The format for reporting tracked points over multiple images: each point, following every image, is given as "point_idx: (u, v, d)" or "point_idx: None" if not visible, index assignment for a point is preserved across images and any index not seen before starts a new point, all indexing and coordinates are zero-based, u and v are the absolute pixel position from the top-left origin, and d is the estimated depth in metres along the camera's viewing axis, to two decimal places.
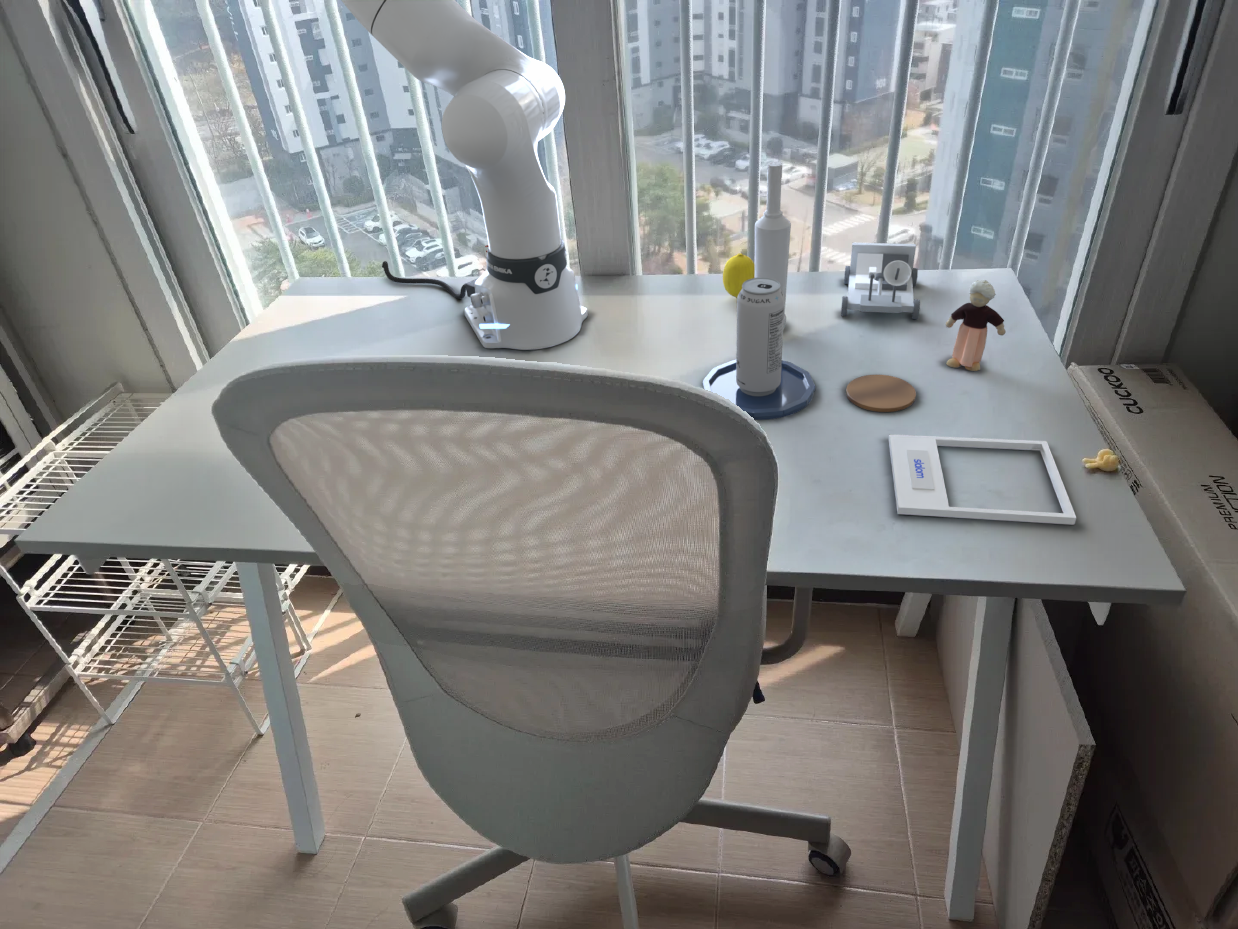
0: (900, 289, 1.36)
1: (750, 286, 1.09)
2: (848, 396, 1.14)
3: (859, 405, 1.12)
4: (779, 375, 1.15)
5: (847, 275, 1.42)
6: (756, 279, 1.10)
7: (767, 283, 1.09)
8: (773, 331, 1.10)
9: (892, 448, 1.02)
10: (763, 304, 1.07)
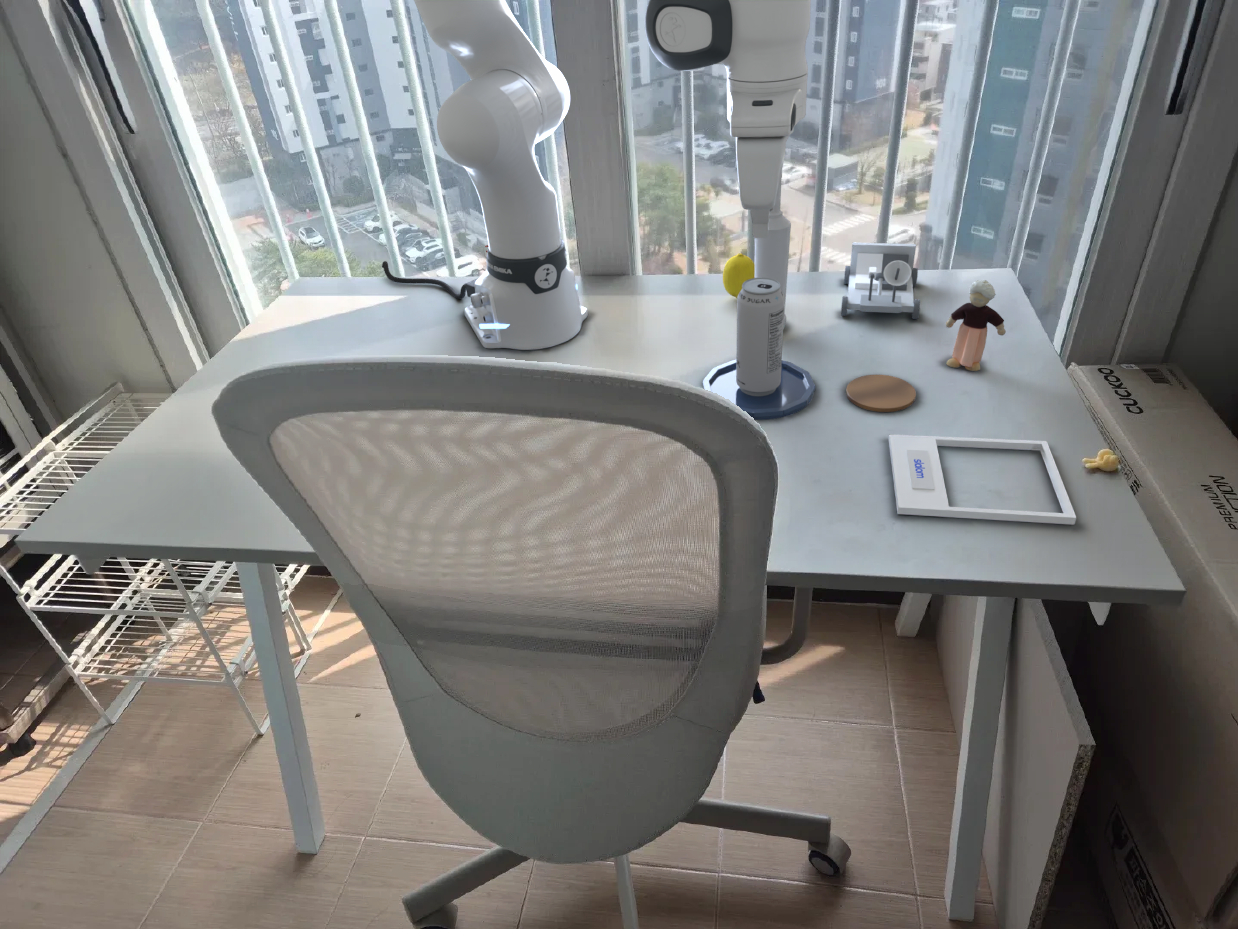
0: (900, 289, 1.36)
1: (750, 286, 1.09)
2: (848, 396, 1.14)
3: (859, 405, 1.12)
4: (779, 375, 1.15)
5: (847, 275, 1.42)
6: (756, 279, 1.10)
7: (767, 283, 1.09)
8: (773, 331, 1.10)
9: (892, 448, 1.02)
10: (763, 304, 1.07)
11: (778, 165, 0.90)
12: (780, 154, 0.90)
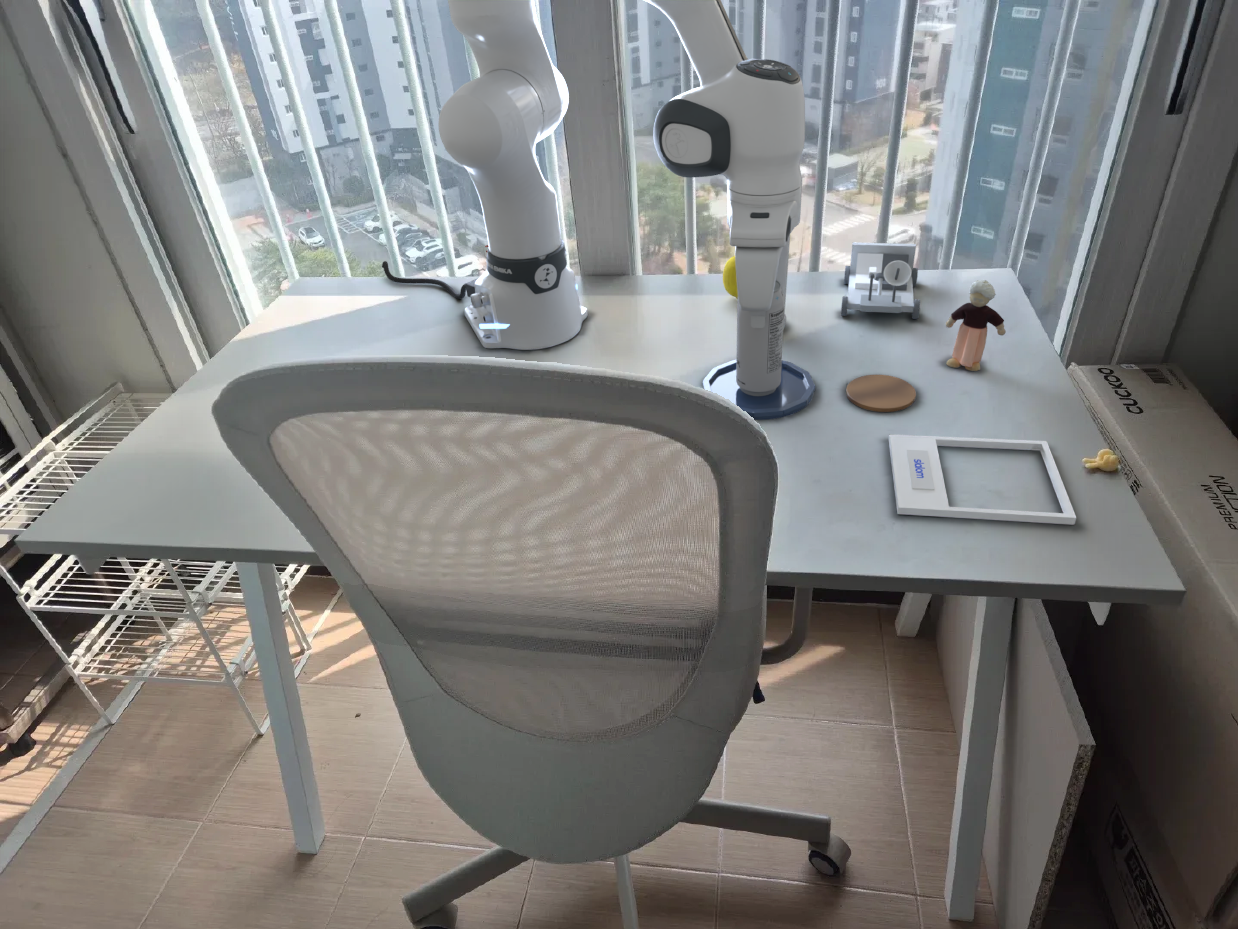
0: (900, 289, 1.36)
1: None
2: (848, 396, 1.14)
3: (859, 405, 1.12)
4: (779, 375, 1.15)
5: (847, 275, 1.42)
6: None
7: None
8: (773, 331, 1.10)
9: (892, 448, 1.02)
10: None
11: (774, 273, 0.97)
12: (776, 263, 0.97)
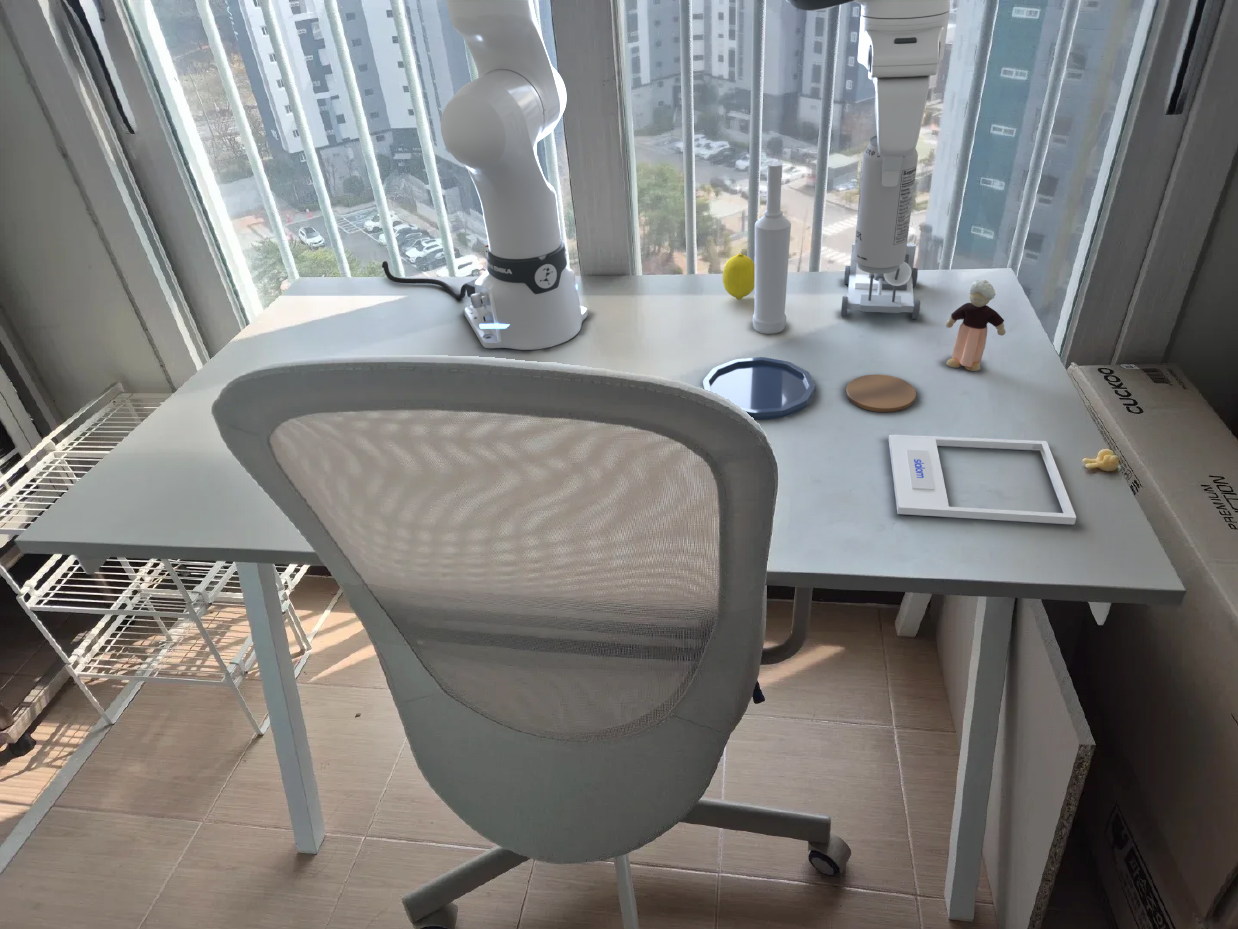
0: (900, 289, 1.36)
1: None
2: (848, 396, 1.14)
3: (859, 405, 1.12)
4: (905, 249, 1.02)
5: (847, 275, 1.42)
6: None
7: None
8: (905, 193, 0.97)
9: (892, 448, 1.02)
10: None
11: (923, 107, 0.85)
12: (926, 95, 0.84)
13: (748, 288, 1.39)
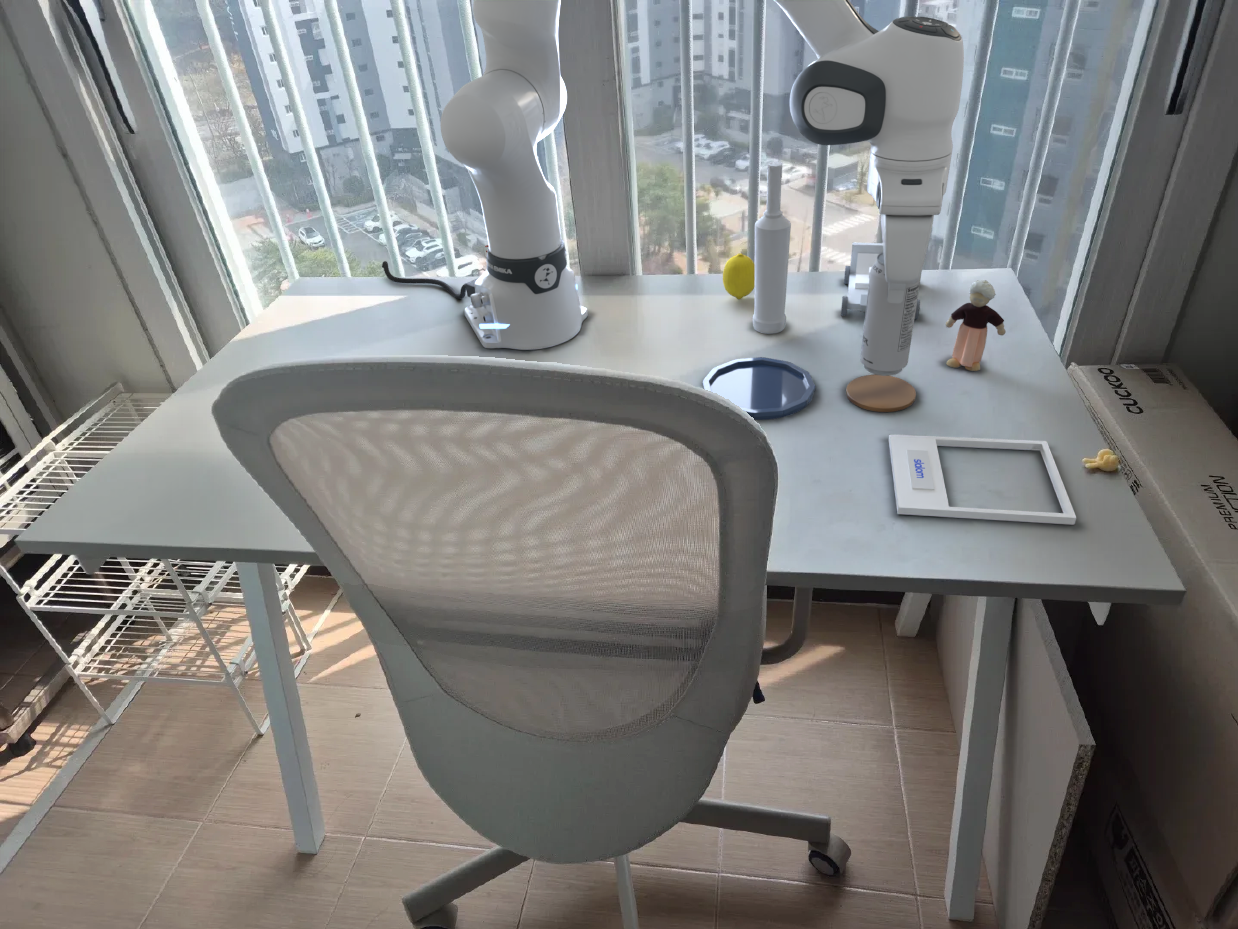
0: None
1: None
2: (848, 396, 1.14)
3: (859, 405, 1.12)
4: (908, 354, 1.10)
5: (847, 275, 1.42)
6: None
7: None
8: (909, 307, 1.05)
9: (892, 448, 1.02)
10: None
11: (927, 243, 0.93)
12: (930, 232, 0.92)
13: (748, 288, 1.39)
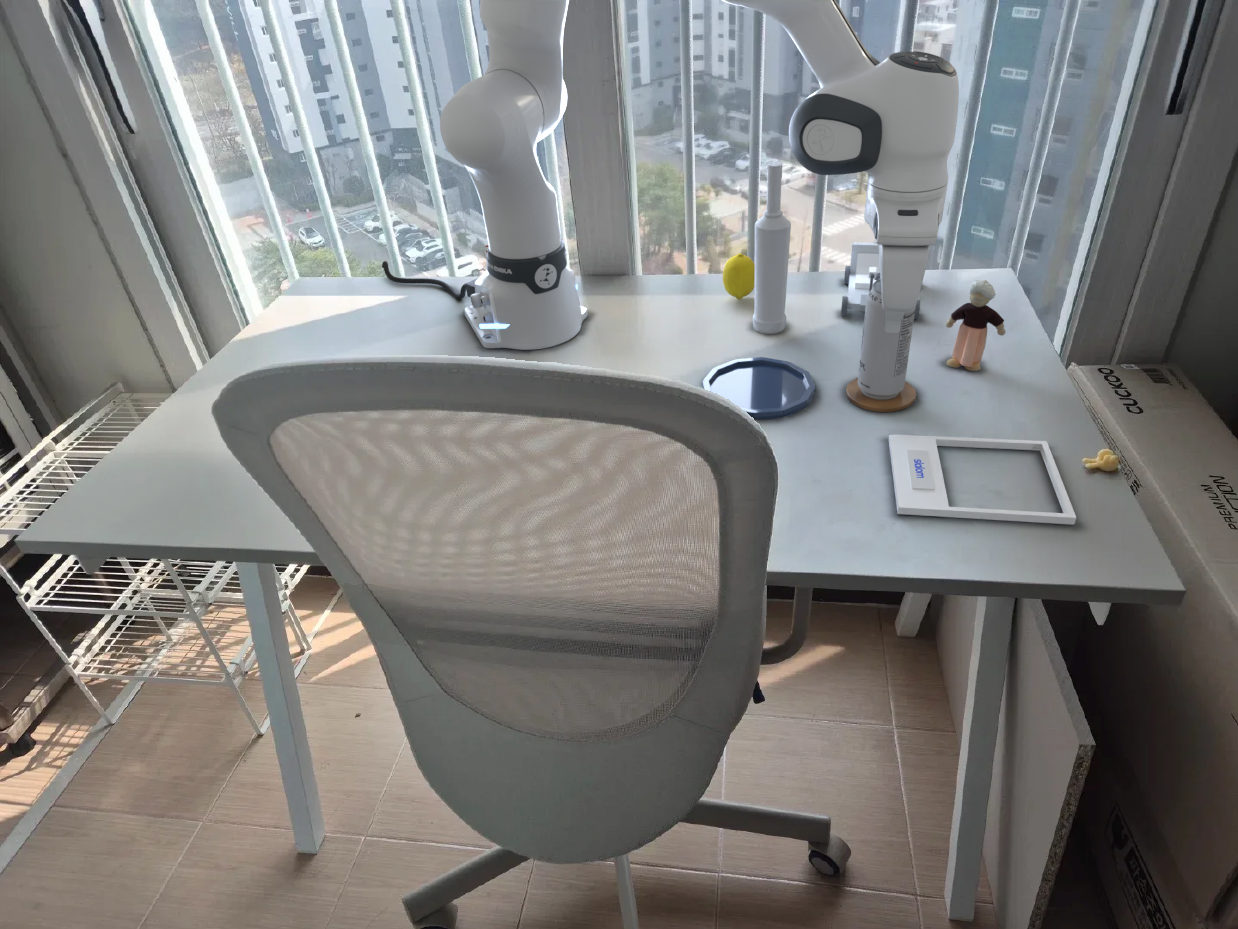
0: None
1: None
2: (848, 396, 1.14)
3: (859, 405, 1.12)
4: (904, 378, 1.12)
5: (847, 275, 1.42)
6: None
7: None
8: (904, 333, 1.07)
9: (892, 448, 1.02)
10: None
11: (923, 273, 0.94)
12: (925, 262, 0.94)
13: (748, 288, 1.39)
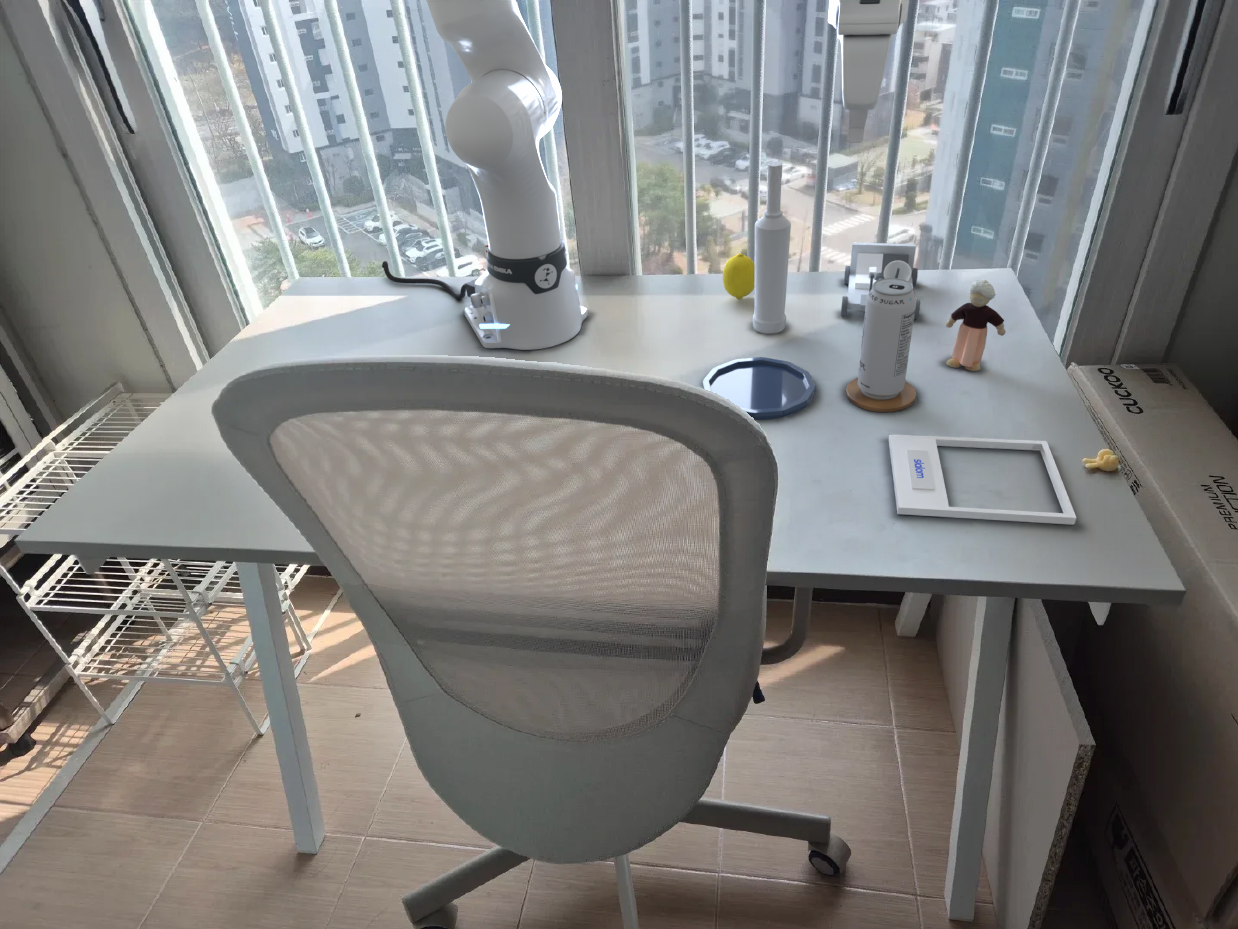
0: None
1: (881, 287, 1.06)
2: (848, 396, 1.14)
3: (859, 405, 1.12)
4: (904, 378, 1.12)
5: (847, 275, 1.42)
6: (886, 280, 1.08)
7: (898, 283, 1.06)
8: (904, 333, 1.07)
9: (892, 448, 1.02)
10: (897, 306, 1.04)
11: (884, 63, 0.92)
12: (887, 52, 0.92)
13: (748, 288, 1.39)
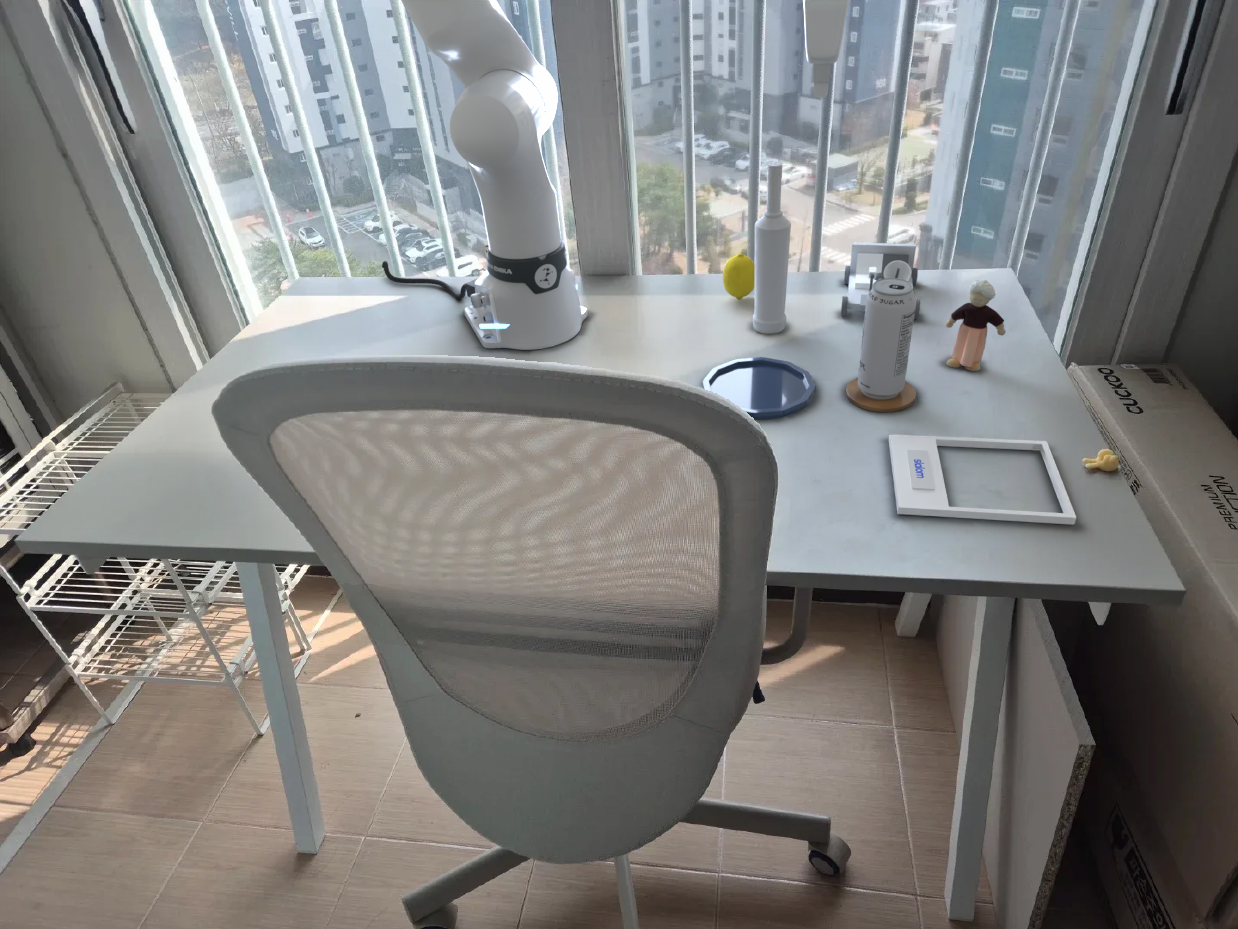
0: None
1: (881, 287, 1.06)
2: (848, 396, 1.14)
3: (859, 405, 1.12)
4: (904, 378, 1.12)
5: (847, 275, 1.42)
6: (886, 280, 1.08)
7: (898, 283, 1.06)
8: (904, 333, 1.07)
9: (892, 448, 1.02)
10: (897, 306, 1.04)
11: (843, 17, 0.97)
12: (846, 6, 0.97)
13: (748, 288, 1.39)
